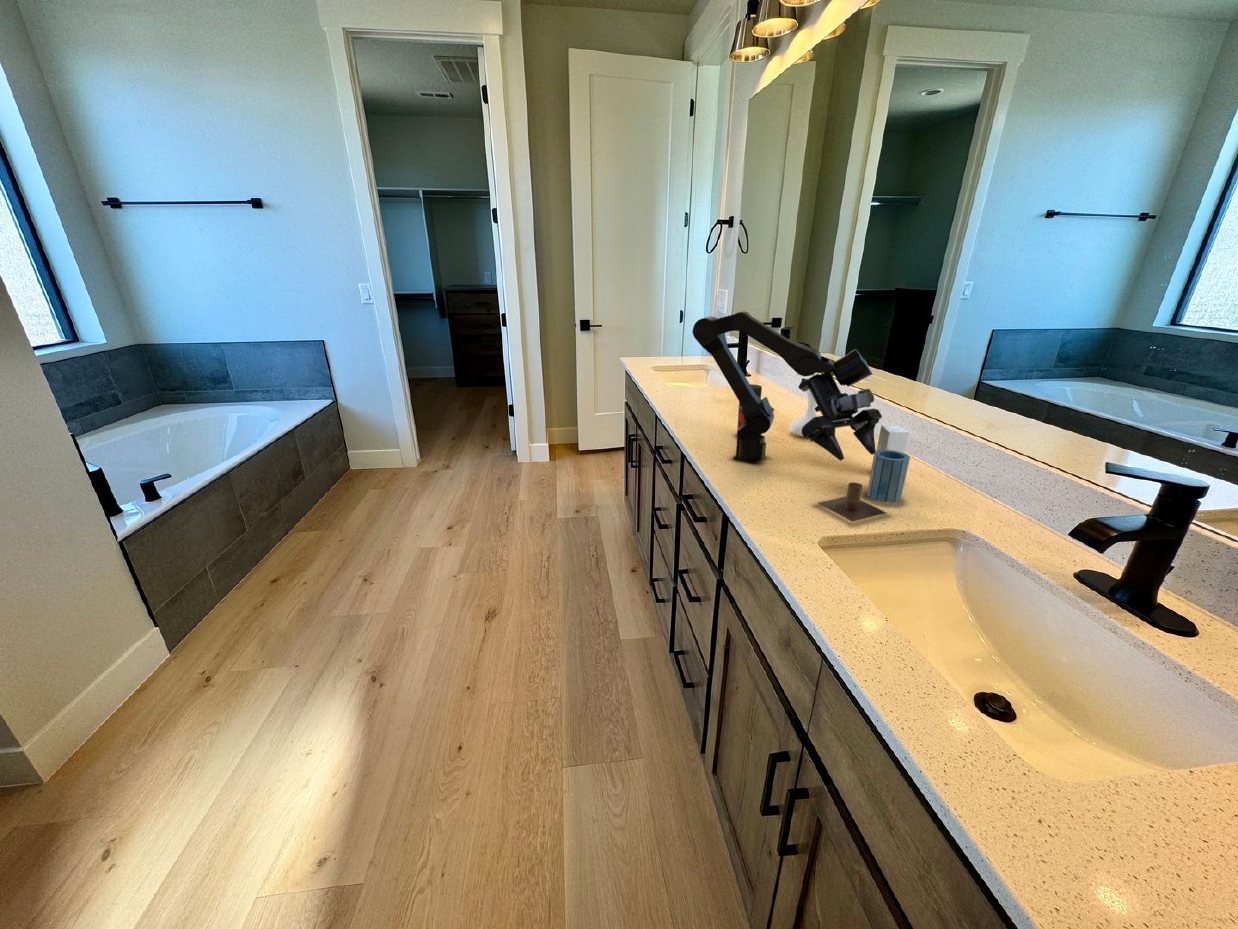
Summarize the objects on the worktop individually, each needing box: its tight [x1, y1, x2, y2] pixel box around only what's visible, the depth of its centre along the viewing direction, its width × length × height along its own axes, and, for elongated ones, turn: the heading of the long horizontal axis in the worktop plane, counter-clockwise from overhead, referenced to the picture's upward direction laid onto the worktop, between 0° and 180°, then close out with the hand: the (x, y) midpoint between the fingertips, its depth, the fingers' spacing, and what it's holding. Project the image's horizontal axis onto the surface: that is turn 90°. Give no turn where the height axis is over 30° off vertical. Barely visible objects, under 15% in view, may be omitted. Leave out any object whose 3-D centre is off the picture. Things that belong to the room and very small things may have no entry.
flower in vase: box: [788, 372, 818, 438], centre depth 141 cm, size 13×11×25 cm
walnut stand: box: [817, 482, 887, 523], centre depth 98 cm, size 9×9×6 cm
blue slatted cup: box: [866, 450, 911, 503], centre depth 103 cm, size 6×6×10 cm
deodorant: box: [736, 383, 763, 436], centre depth 143 cm, size 6×6×15 cm
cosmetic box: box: [875, 424, 910, 454], centre depth 113 cm, size 6×4×12 cm
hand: (858, 456), depth 109 cm, fingers open, 9 cm apart
